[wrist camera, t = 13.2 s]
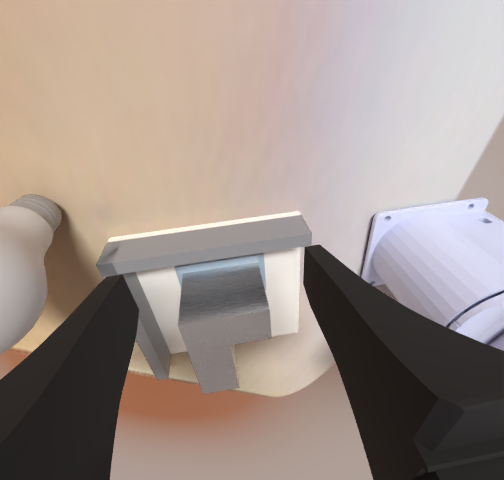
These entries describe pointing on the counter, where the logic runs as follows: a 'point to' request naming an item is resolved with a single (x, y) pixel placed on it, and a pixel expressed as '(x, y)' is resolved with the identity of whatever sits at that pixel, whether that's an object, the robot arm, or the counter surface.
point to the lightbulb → (24, 264)
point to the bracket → (222, 320)
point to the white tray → (205, 258)
